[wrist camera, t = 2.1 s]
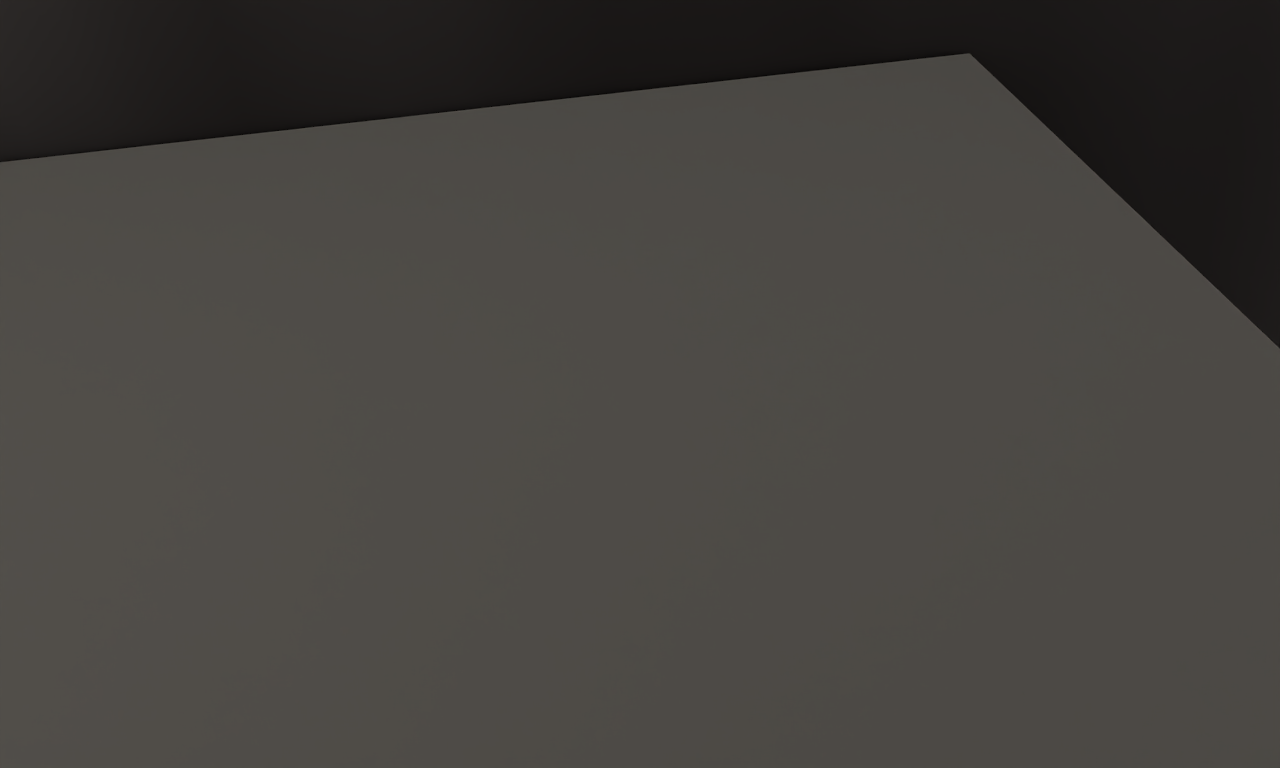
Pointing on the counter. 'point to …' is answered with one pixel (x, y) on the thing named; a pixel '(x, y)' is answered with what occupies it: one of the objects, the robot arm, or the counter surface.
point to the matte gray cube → (630, 446)
